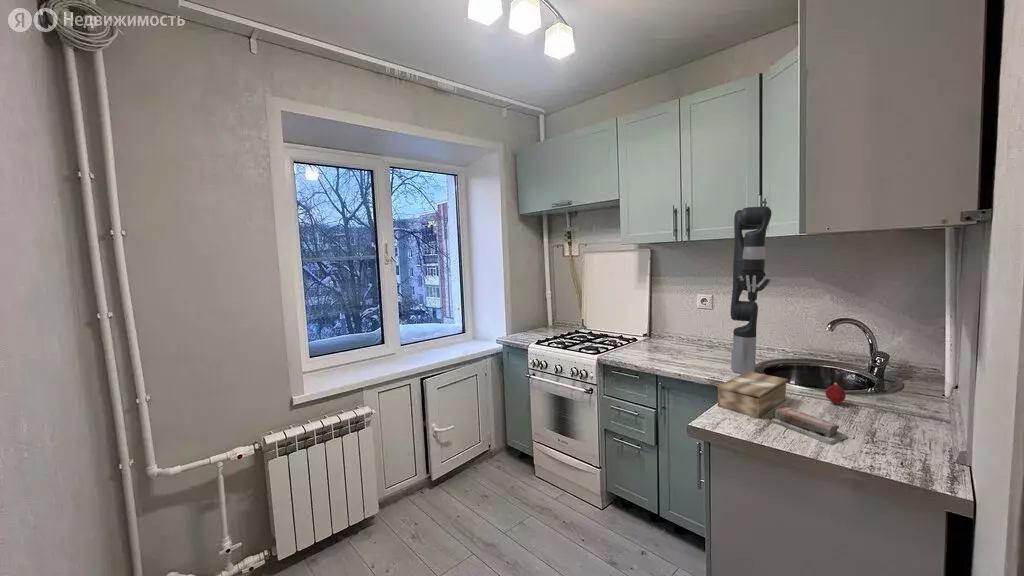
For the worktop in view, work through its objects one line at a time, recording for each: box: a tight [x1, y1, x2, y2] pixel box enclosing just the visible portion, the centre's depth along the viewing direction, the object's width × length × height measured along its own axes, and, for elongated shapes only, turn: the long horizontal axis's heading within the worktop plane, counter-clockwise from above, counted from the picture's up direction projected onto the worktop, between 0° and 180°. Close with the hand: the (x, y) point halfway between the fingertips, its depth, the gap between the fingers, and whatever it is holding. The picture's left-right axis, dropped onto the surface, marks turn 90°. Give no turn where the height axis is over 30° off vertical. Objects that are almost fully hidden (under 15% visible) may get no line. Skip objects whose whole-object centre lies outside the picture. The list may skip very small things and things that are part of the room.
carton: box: [717, 382, 787, 419], centre depth 152 cm, size 14×24×7 cm, turn 127°
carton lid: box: [717, 372, 789, 397], centre depth 152 cm, size 14×25×1 cm, turn 127°
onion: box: [825, 382, 847, 405], centre depth 150 cm, size 6×6×8 cm
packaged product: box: [770, 406, 849, 445], centre depth 131 cm, size 18×5×10 cm
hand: (752, 301), depth 161 cm, fingers closed
